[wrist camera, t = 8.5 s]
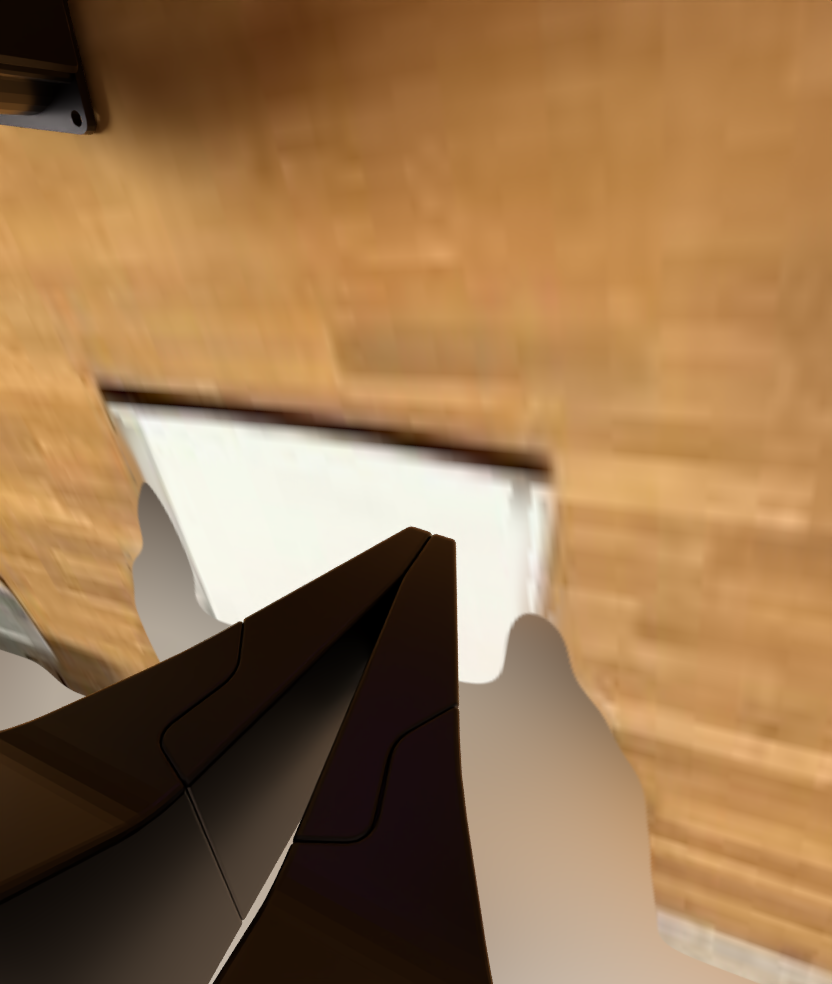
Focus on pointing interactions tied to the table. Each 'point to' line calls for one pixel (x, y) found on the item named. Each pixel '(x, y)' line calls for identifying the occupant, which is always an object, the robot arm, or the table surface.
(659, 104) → the table surface
